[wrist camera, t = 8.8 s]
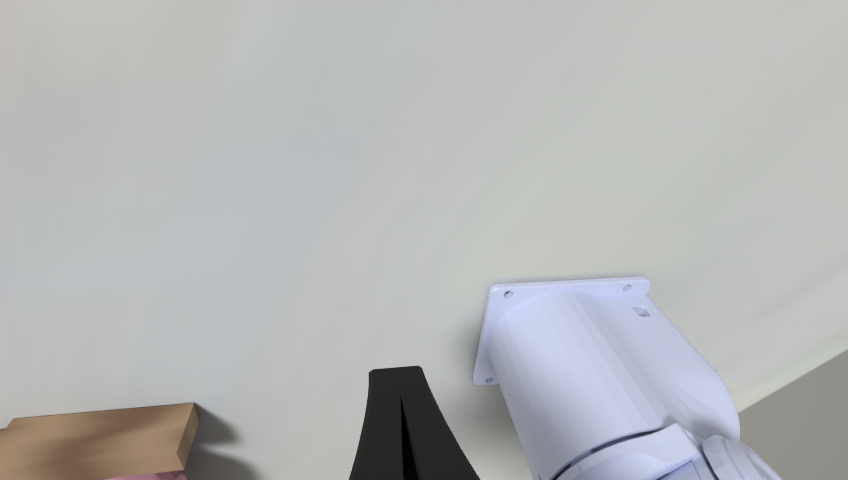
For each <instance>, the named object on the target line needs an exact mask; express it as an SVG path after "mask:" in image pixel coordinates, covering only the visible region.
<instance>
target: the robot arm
mask: <svg viewBox="0 0 848 480" xmlns="http://www.w3.org/2000/svg"><path fill="white" fill-rule="evenodd" d="M650 286H651V282H650V281H649V280H648V279H647V278H646V277H624V278H605V279H586V280H566V281H547V282H528V283H508V284H497V285H494V286H492V287H491V288H490V290H489V294H488V299H487V304H486V309H485V315H484V320H483V325H482V331H481V336H480V341H479V346H478V352H477V357H476V362H475V368H474V373H473V381H474V384H475V385H478V386H484V385H494V384H499V385H500V388H501V391H502V394H503V396H504V399H505V402H506V404H507V407H508V410H509V413H510V415H511V418H512V421H513V424H514V426H515V429H516V432H517V435H518V437H519V440H520V443H521V446H522V448H523V451H524V454H525V457H526V459H527V462H528V465H529V468H530V470H531V473H532V476H533V479H534V480H782V479H781V478H780V477H779V475H778V474H776V472H775V471H774V470H773V469H771V467H770V466H769V465H768V464H767V463H766V462H765V461H764V460H763V459H761V458H760V457H759V456H758V455H757V454H756V453H755V452H754V451H753V450H751V449H750V448H749V447H748V446H746V445H745V444H743V443H740V442H739V437H740V424H739V418H738V414H737V410H736V407H735V404H734V402H733V399H732V397H731V394H730V392H729V390H728V388H727V387H726V385H725V383H724V381H723V380H722V378H721V377H720V375H719V374H718V373H717V372H716V370H715V369H714V368H713V367H712V366H711V365H710V363H709V362H708V361H707V360H706V359H705V358H704V357H703V356H702V355H701V354H700V353H699V351H698V350H697V349H696V348H695V347H694V346H693V345H692V344H691V343H690V342H689V341H688V339H687V338H686V337H685V336H684V335H683V334H682V333H681V332H680V331H679V330H678V328H677V327H676V326H675V325H674V324H673V323H672V322H671V321H670V320H669V319H668V318H667V316H666V315H665V314H664V313H663V312H662V311H661V310H660V309H659V308H658V307H657V306H656V304H655V303H654V302H653V301H652V300H651V299H650V298H649V297H648V296H647V293H648V290H649V288H650ZM508 291H510V292H509V293H507V294H505V293H506V292H508ZM349 480H480V478H479V477H478V475H477V474H476V472H475V471H474V469H473V467H472V466H471V464H470V463H469V461H468V459H467V458H466V456H465V455H464V453H463V451H462V449H461V448H460V446H459V444H458V443H457V441H456V439H455V437H454V435H453V434H452V432H451V430H450V428H449V426H448V425H447V423H446V421H445V419H444V417H443V415H442V413H441V411H440V409H439V407H438V405H437V403H436V401H435V399H434V397H433V395H432V392H431V390H430V388H429V385H428V383H427V381H426V378H425V375H424V373H423V370H422V368H421V367H419V366H409V367H397V368H385V369H373V370H372V371H370V372H369V389H368V399H367V406H366V412H365V418H364V423H363V427H362V432H361V436H360V441H359V445H358V449H357V453H356V457H355V461H354V464H353V468H352V471H351V474H350V478H349Z"/></svg>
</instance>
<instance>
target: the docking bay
mask: <svg viewBox="0 0 848 480" xmlns="http://www.w3.org/2000/svg"><path fill="white" fill-rule="evenodd" d="M199 422H200V417H199V415H198V412H197V409H196V407H195V404H194V403H186V404H175V405H164V406H153V407H141V408H130V409H119V410H108V411H97V412H85V413H74V414H63V415H52V416H40V417H29V418H18V419H13V420H12V421H11V422H10V424H9V425H8V426H7V428H6V429H1V430H0V480H99V479H108V478H116V477H125V476H134V475H143V474H152V473H161V472H170V471H178V470H184V469H185V465H186V462H187V459H188V456H189V453H190V450H191V447H192V444H193V441H194V438H195V435H196V432H197V429H198V425H199Z"/></svg>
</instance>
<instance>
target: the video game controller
mask: <svg viewBox="0 0 848 480" xmlns="http://www.w3.org/2000/svg"><path fill="white" fill-rule="evenodd" d="M109 479H110V480H187V478H186V476H185V474H184V472H183V470H178V471H170V472H161V473H152V474H143V475H134V476H125V477H116V478H109Z"/></svg>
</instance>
